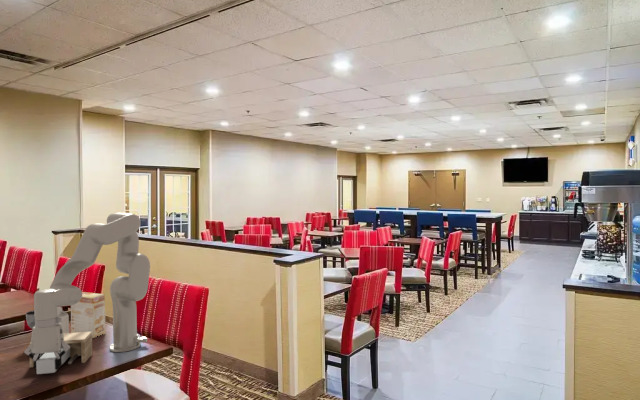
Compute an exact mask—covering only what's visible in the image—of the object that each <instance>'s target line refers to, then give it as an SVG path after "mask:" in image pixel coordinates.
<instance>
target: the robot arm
mask: <svg viewBox="0 0 640 400" xmlns="http://www.w3.org/2000/svg"><path fill="white" fill-rule="evenodd" d="M141 223H142V222H141V219H140V217H139V216H138V215H136V214H135V213H131V212H130V213H129V212H113V213H111V214H109V215H108V216H107V218H106V223H91V224H89V225H87V227H86V228H85V230H84V231H83V233H82V235H81V238H80V239H79V242H78V244H77V245H76V248H75V250H74V252H73V254H72V255H71V257H70V259H68V260H67V261H66V262H65V263H64V265H62V266H61V267H60V268H59V270H57V273H56V274H55V275H54V278H53V280H52V281H51V284H50V286H49V288H45V289H38V290H37V291H35V293H34V294H33V307H34V308H33V309H34V314H35V326H34V327H33V329H32V332H31V338H30V342H31V345H30V346H29V345H28V346H29V347H28V346H27V347H26V349H25V350H24V352H23V353H24V354H25V355H27V356H28V357H30V358H32V359H33V361H34V367H33V368H34V369H35V372H37V369H36V361H37V360H38V359H39V358H40V354H41V353H52V352H54V354H55V356H56V359H55V369H56V371H57V370H59V369H60V367H61V366H62V365H63V364H62V361H61V357H62V356H63V355H64V354H65V353H66V352H67V351H68V350H69V349H70V346H69V345H68V344H67V343H66V342H64V334H63V329H62V325H61V323H59V322H62V318H59V316H58V307H60V308H61V307H68V306H70V307H71V305H74V304H76V303H78V302H79V301H80V300H81V298H82V292H83V291H82V289H81V288H80V287H78V286H75V285H72V283H73V282H74V280H75V279H76V277H77V276H78V275H79V274H81V272H82V271H84V270H86V269H89V268H90V267H92V266H93V265H94V264H95V263H96V260H97V258H98V256H99V253H100V252H101V250H102V248H103V245H104V246H108V245H112V244H114V243H117V253H116V261H115V268H116V270H117V271H118V272H120V273H123V274H127V275H121V276H117V277H115V278H114V279H113V280H112V281H111V283H110V287H109V293H110V297H111V304H112V329H113V330H112V331H113V334H112V335H113V339H112V342H113V343H111V344H110V345H109V351H111V352H114V353H126V352H131V351H134V350H136V349H138V348H139V347H140V346H141V345H142V343H147V342H148V338H147V337H146V336H140V334H139V333H138V329H137V325H138V323H137V322H138V321H137V320H138V319H137V318H138V317H137V314H138V313H137V302H138V301H141V300H143V299H144V298H145V297H146V294H147V292H148V288H149V281H150V273H151V270H150V269H151V263H150V259H149V257H147V255H146V254H144V253H140V252H139V246H140V241H139V240H140V239H139V235H138V230H139V229H140V227H141ZM62 347H64V350H63V351H62V352H61V350H60V349H61V348H62ZM30 358H29V359H30ZM61 364H62V365H61Z"/></svg>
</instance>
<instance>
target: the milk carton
mask: <svg viewBox="0 0 640 400" xmlns="http://www.w3.org/2000/svg"><path fill="white" fill-rule="evenodd" d="M69 315H70V314H68V312H66V311H65V310H63V307H61V306H60V307H58V316H59V318H62V322H59V323H61V325H62V329H63V334H64V333H70V322H69V319H70V318H69V317H70V316H69Z"/></svg>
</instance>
